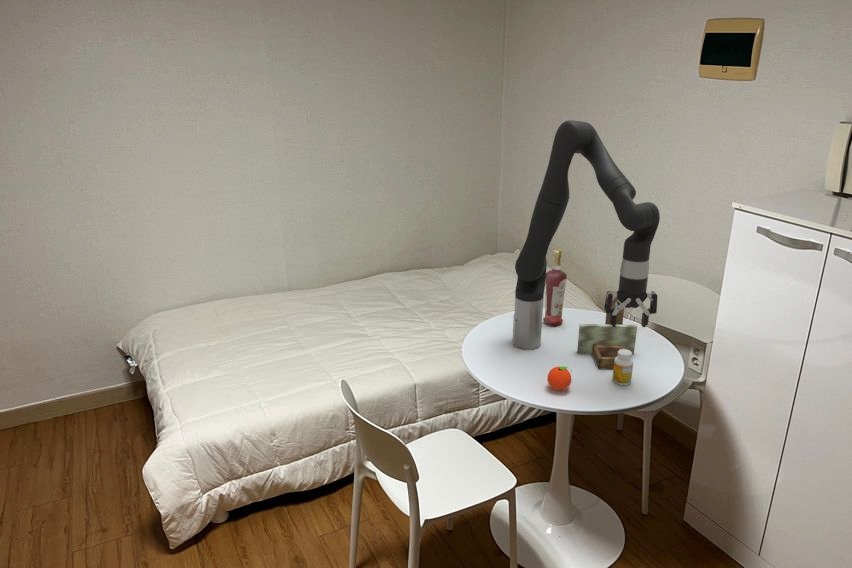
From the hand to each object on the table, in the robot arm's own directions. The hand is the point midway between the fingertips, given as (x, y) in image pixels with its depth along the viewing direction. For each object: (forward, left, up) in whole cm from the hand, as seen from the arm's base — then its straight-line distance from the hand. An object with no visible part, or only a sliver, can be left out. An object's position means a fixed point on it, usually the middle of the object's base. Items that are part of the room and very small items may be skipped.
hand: (628, 326), depth 179 cm
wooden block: (+5, +26, -18) cm, 32 cm away
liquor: (-15, +41, -18) cm, 47 cm away
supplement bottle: (0, 0, -18) cm, 18 cm away
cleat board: (-1, +13, -18) cm, 22 cm away
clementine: (-19, -5, -18) cm, 27 cm away
